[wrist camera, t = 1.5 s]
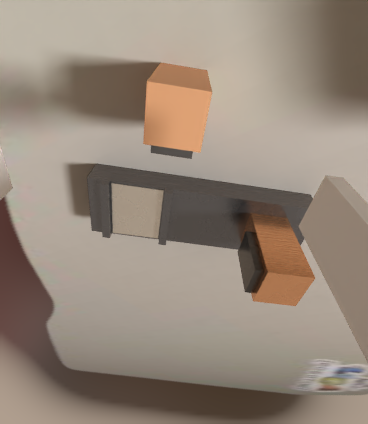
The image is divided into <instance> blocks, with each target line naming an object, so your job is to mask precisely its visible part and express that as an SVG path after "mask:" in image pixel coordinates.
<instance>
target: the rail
mask: <svg viewBox="0 0 368 424" xmlns="http://www.w3.org/2000/svg"><path fill="white" fill-rule="evenodd" d="M87 182H88V193H89V204H90V215H91V226H92V231H99V232H102V233H103V237H107V238H110V236H111V234H112V233H114V234H122V235H130V236H137V237H145V238H153V239H159V244H161V245H166V240H168V241H176V242H184V243H192V244H199V245H207V246H215V247H223V248H230V249H238V256H239V262H240V267H241V273H242V278H243V283H244V289H245V292H249V293H251V294H252V299H253V301H257V302H265V303H274V304H282V305H291V306H296V305H297V303H298V302H299V301H300V299H301V298H302V296H303V295H304V293H305V292H306V291H307V289H308V288H309V286H310V285H311V284H312V282H313V281H314V279H315V277H314V275H313V272H312V270H311V268H310V266H309V264H308V262H307V259H306V257H305V255H304V253H303V251H302V249H301V246H300V245H301V244H302V242H303V240H304V236H303V234H302V232H301V230H300V229H299V227H298V226H299V224H300V222H301V221H302V219H303V217H304V215H305V213H306V211H307V209H308V207H309V206H310V204H311V202H312V200H313V198H312V197H311V195H308V194H302V193H295V192H288V191H281V190H274V189H267V188H260V187H253V186H246V185H239V184H232V183H226V182H219V181H212V180H205V179H198V178H191V177H184V176H177V175H170V174H163V173H157V172H150V171H143V170H136V169H129V168H122V167H115V166H108V165H101V164H96V165H95V166H94V168H93V169H92V171H91V172H90V174H89V175H88V177H87Z"/></svg>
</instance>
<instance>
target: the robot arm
mask: <svg viewBox="0 0 368 424" xmlns="http://www.w3.org/2000/svg"><path fill="white" fill-rule="evenodd" d="M12 188H13V187H12V184H11V180H10V177H9V174H8V170H7V167H6V163H5V160H4V157H3V153H2V150H1V146H0V200H1V199H2V198H3V197H4V196H5V195H6V194H7V193H8V192H9V191H10V190H11V189H12ZM298 227H299V229H300V230H301V232H302V234H303V236H304V238H305V240H306V242H307V244H308V246H309V248H310V250H311V252H312V254H313V256H314V258H315V260H316V262H317V264H318V266H319V268H320V270H321V272H322V274H323V276H324V278H325V280H326V282H327V284H328V286H329V288H330V289H331V291H332V293H333V295H334V297H335V299H336V301H337V303H338V305H339V307H340V309H341V311H342V313H343V315H344V317H345V319H346V321H347V323H348V325H349V327H350V329H351V331H352V333H353V335H354V337H355V339H356V341H357V343H358V345H359V347H360V348H361V350H362V352H363V354H364V356H365V358H366V360H367V362H368V203H367V202H366V201H365V200H364V199H363V198H362V197H361V196H360V195H359V194H358V193H357V192H356V191H355V190H354V189H353V188H352V187H351V186H350V184H349V183H348V182H347V181H346V180H345V179H344V178H340V177H333V176H325V178H324V179H323V181H322V183H321V185H320V187H319V189H318V191H317V192H316V194H315V196H314V198H313V200H312V202H311V204H310V206H309V207H308V209H307V211H306V213H305V215H304V217H303V219H302V221H301V222H300V224H299V226H298Z"/></svg>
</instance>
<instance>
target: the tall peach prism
mask: <svg viewBox="0 0 368 424" xmlns="http://www.w3.org/2000/svg"><path fill="white" fill-rule="evenodd" d="M211 95H212V89H211V85H210V81H209V77H208V72H207V70H201V69H195V68H190V67H184V66H178V65H172V64H166V63H160V64H159V66H158V67H157V68H156V70H155V71H154V72H153V74H152V75H151V76H150V78H149V79H148V80H147V88H146V106H145V125H144V143H143V144H147V145H151V153H156V154H163V155H169V156H176V157H183V158H190V159H192V153H193V152H200V151H201V146H202V141H203V136H204V131H205V126H206V121H207V116H208V111H209V106H210V100H211Z"/></svg>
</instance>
